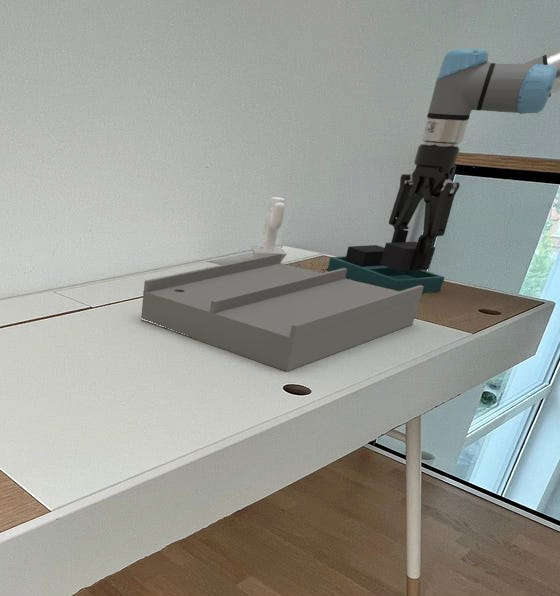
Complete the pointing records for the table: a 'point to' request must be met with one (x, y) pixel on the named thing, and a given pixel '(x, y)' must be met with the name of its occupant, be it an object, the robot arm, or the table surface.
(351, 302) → the desk organizer
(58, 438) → the table surface
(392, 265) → the pad
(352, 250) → the pad
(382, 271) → the back divided tray
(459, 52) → the robot arm
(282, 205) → the figurine
